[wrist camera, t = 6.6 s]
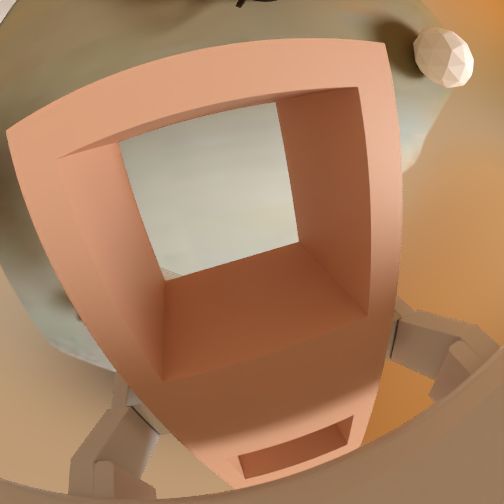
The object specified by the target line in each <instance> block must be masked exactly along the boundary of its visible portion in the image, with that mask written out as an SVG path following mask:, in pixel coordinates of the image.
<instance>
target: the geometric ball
mask: <svg viewBox="0 0 504 504" xmlns="http://www.w3.org/2000/svg"><path fill="white" fill-rule="evenodd" d="M413 47H414V54H415V61H416V63H417V65H418V67H419V69H420V70H421V72H422V73H423V74H424V75H425V76H426V77H427V78H428V79H430V80H432V81H433V82H435V83H437V84H440V85H442V86H444V87H446V88H449V87H456V86H463V85H464V84H465V83H466V82H467V81H468V79H469V78H470V77H471V75H472V72H473V62H474V59H473V57H472V54H471V52H470V50H469V47H468V45H467V43H466V42H465V41H463V40H462V39H461V38H460V37H459V36H458V35H456V34H455V33H454V32H452V31H451V30H446V29H442V28H437V27H432V28H429V29H425V30H422V31H421V33H420V34H419V36H418V37H417V38H416V40H415V41H414V43H413Z"/></svg>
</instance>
